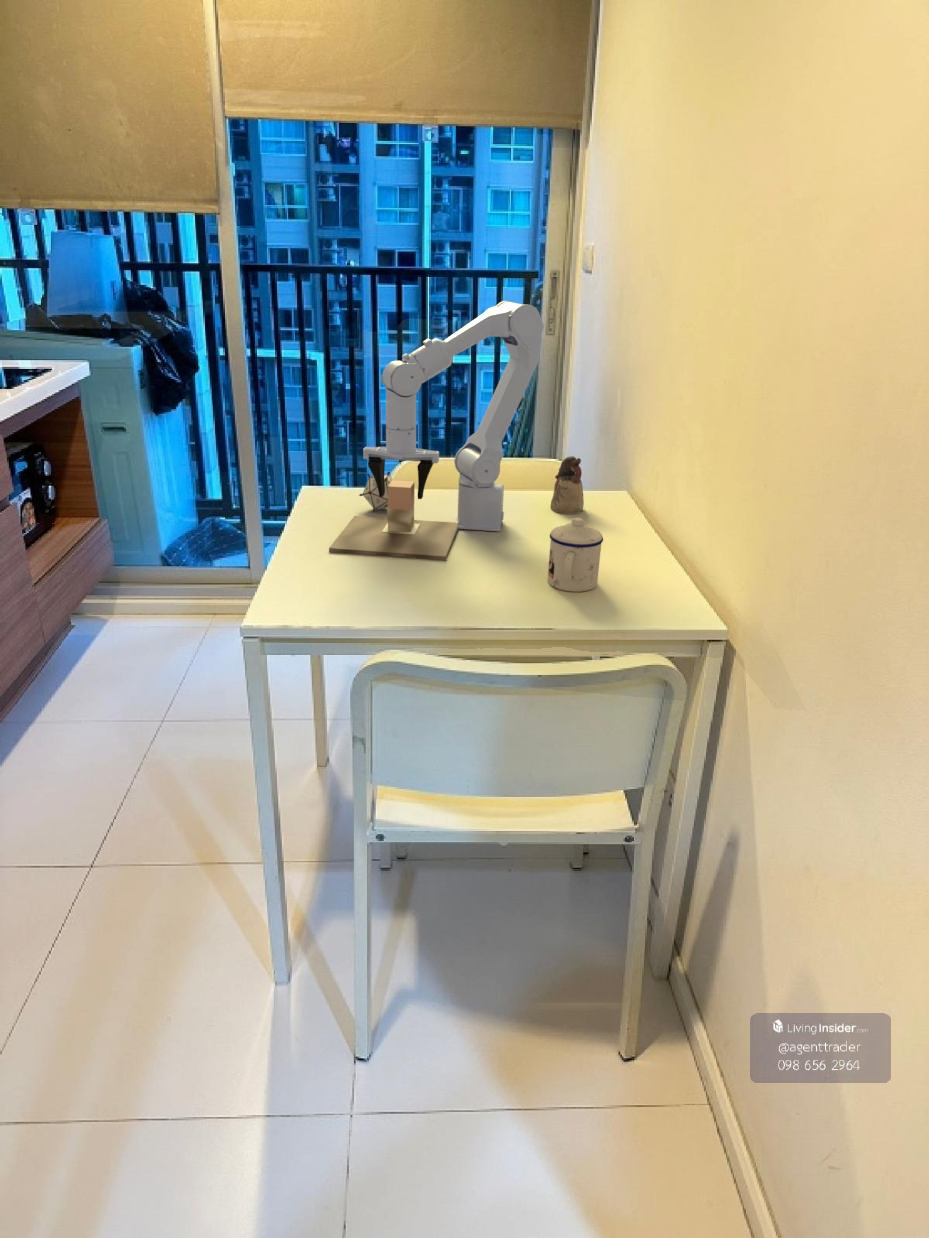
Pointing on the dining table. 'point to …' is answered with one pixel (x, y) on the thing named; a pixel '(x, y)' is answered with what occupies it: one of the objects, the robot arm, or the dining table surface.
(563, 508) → the figurine
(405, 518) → the birch block
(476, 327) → the robot arm
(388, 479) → the game die
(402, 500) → the terracotta block
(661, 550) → the dining table surface
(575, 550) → the teacup with lid
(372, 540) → the brown wooden board
